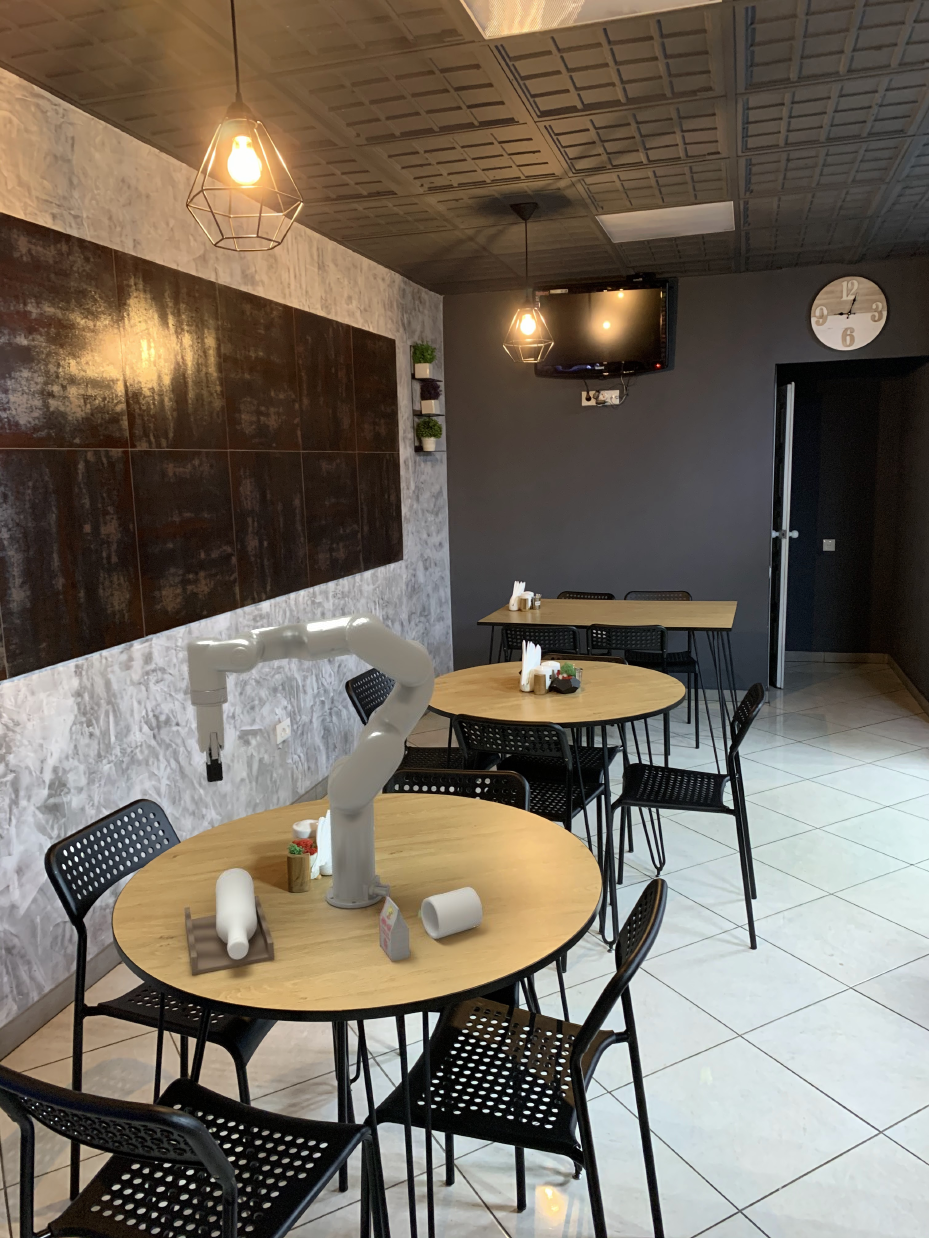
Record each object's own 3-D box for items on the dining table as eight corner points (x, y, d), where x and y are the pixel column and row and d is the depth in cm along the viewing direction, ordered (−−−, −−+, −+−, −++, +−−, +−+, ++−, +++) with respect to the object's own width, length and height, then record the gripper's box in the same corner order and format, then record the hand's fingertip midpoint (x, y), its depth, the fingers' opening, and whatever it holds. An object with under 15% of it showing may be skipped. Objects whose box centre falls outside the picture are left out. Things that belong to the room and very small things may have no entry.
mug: (483, 932, 178) (482, 894, 177) (440, 945, 172) (439, 907, 171) (452, 910, 188) (452, 874, 187) (411, 922, 182) (410, 885, 182)
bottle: (257, 895, 192) (265, 961, 164) (221, 907, 191) (223, 977, 162) (247, 862, 191) (253, 923, 162) (210, 874, 189) (210, 939, 161)
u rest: (185, 923, 183) (184, 907, 183) (258, 911, 188) (257, 895, 188) (192, 975, 163) (191, 957, 162) (274, 959, 168) (273, 942, 168)
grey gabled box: (397, 941, 174) (396, 893, 173) (409, 957, 168) (408, 907, 167) (379, 945, 173) (378, 897, 171) (391, 961, 167) (390, 911, 165)
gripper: (188, 691, 191) (194, 773, 194) (192, 705, 177) (199, 793, 180) (224, 688, 194) (229, 768, 196) (231, 701, 180) (237, 788, 182)
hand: (215, 780), depth 188 cm, fingers closed
